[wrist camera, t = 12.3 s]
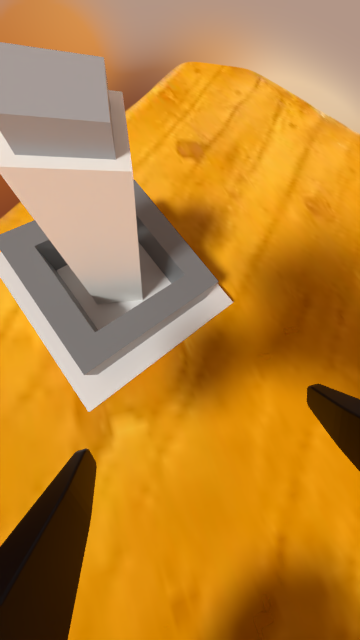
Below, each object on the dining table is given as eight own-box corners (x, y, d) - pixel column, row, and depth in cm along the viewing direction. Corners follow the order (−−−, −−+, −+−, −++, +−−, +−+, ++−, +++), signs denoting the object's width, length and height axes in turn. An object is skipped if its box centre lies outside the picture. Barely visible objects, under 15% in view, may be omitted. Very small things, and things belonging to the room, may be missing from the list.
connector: (142, 300, 18) (129, 136, 5) (97, 304, 17) (-36, 125, 5) (138, 262, 19) (118, 50, 6) (95, 264, 18) (-22, 28, 6)
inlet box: (91, 410, 16) (71, 423, 11) (-6, 263, 17) (-53, 229, 13) (229, 304, 20) (250, 287, 16) (141, 197, 22) (139, 156, 18)
